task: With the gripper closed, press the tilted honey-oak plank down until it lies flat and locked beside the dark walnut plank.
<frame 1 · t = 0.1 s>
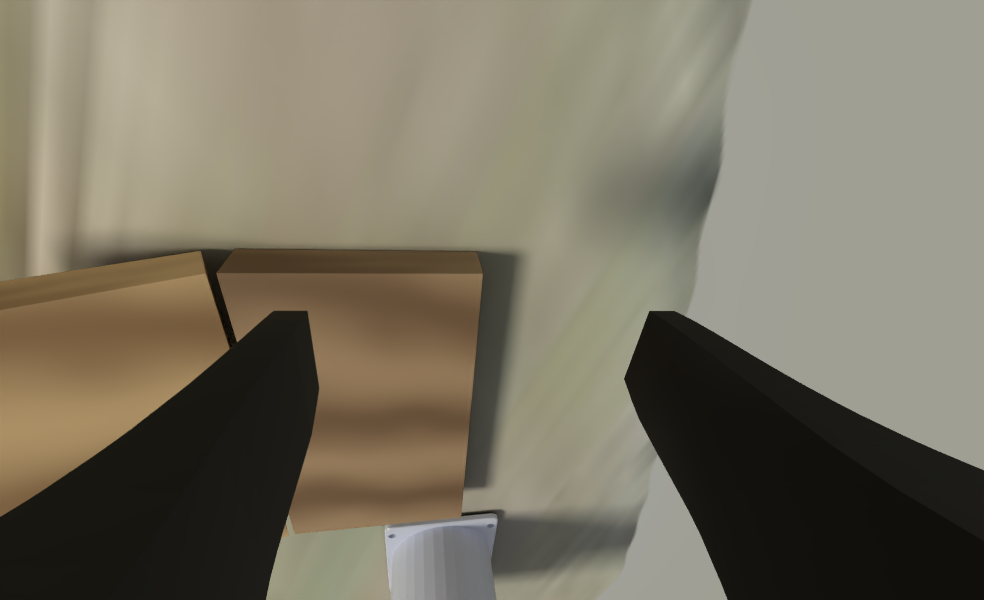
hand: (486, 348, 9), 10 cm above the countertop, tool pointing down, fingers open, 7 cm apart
oak plank: (126, 464, 19), point 3 cm above the countertop, hinge at 25.0°
walnut plank: (374, 398, 23), on the countertop
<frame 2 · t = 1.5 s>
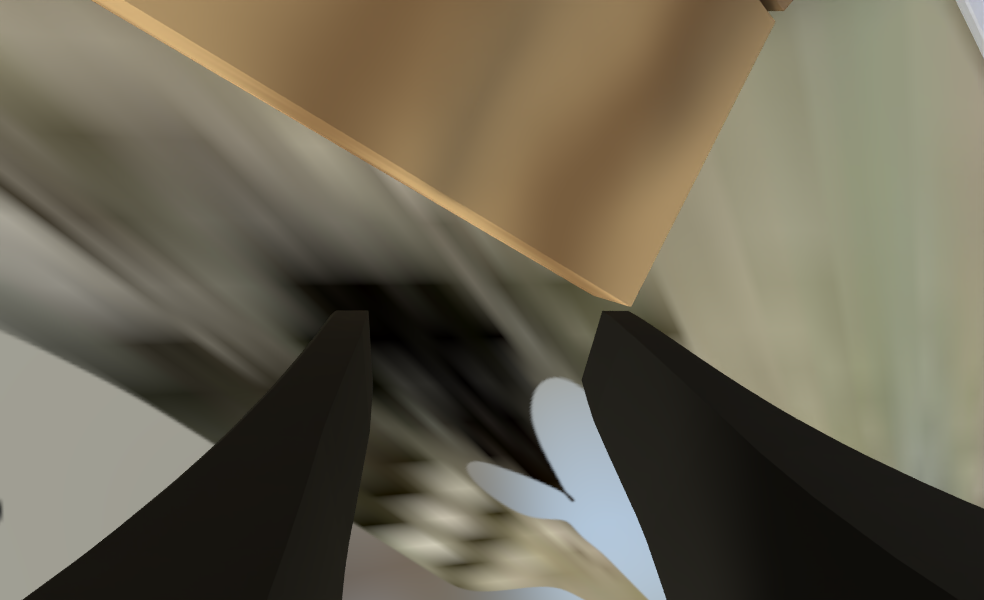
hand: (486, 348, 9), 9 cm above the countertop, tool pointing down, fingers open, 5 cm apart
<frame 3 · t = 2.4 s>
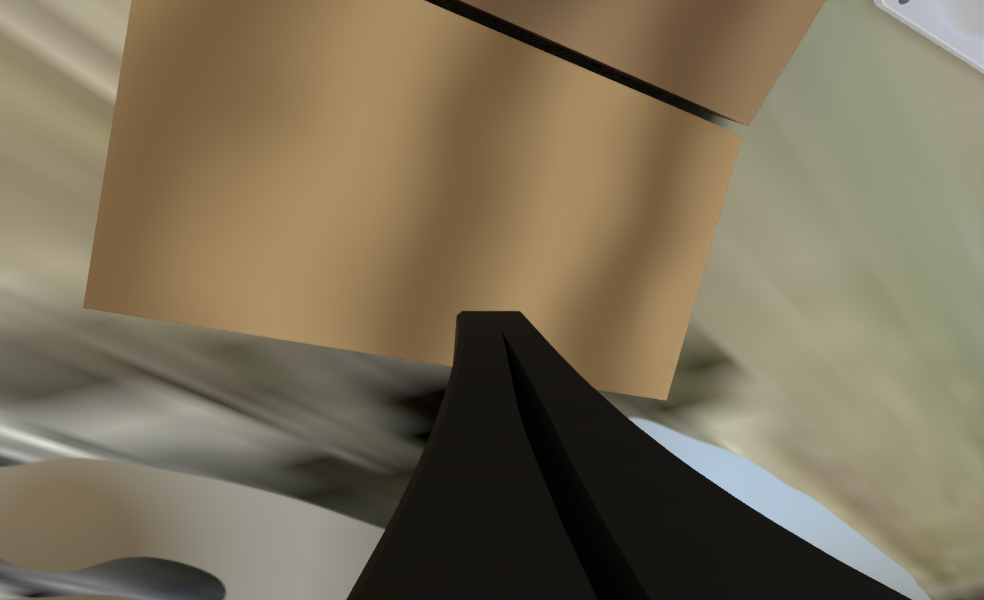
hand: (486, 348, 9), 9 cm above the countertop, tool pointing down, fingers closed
oak plank: (465, 208, 14), point 3 cm above the countertop, hinge at 25.0°
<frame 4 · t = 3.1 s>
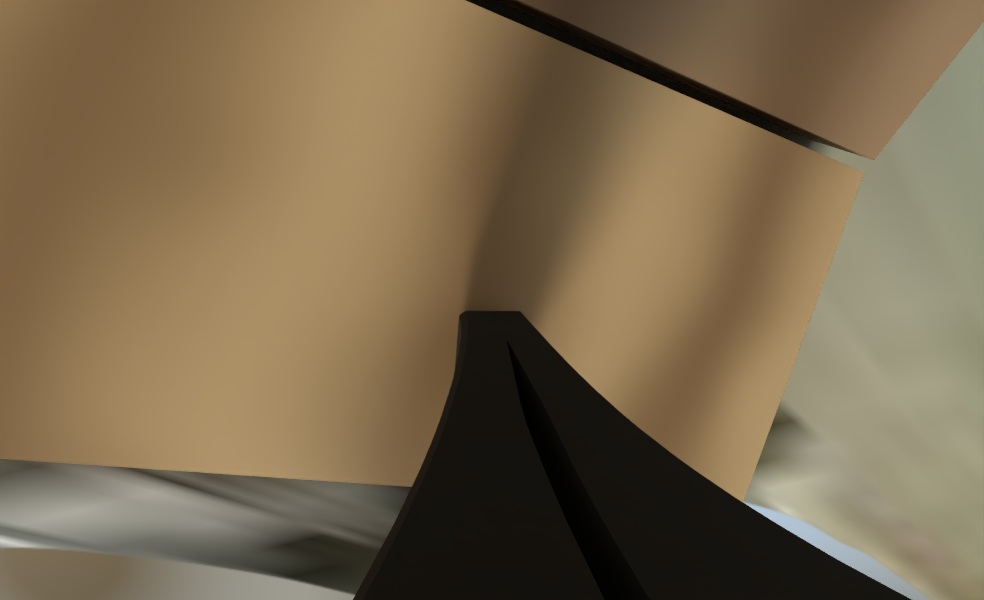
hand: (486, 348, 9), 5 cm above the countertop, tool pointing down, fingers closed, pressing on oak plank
oak plank: (490, 275, 10), point 3 cm above the countertop, hinge at 22.5°, touching gripper
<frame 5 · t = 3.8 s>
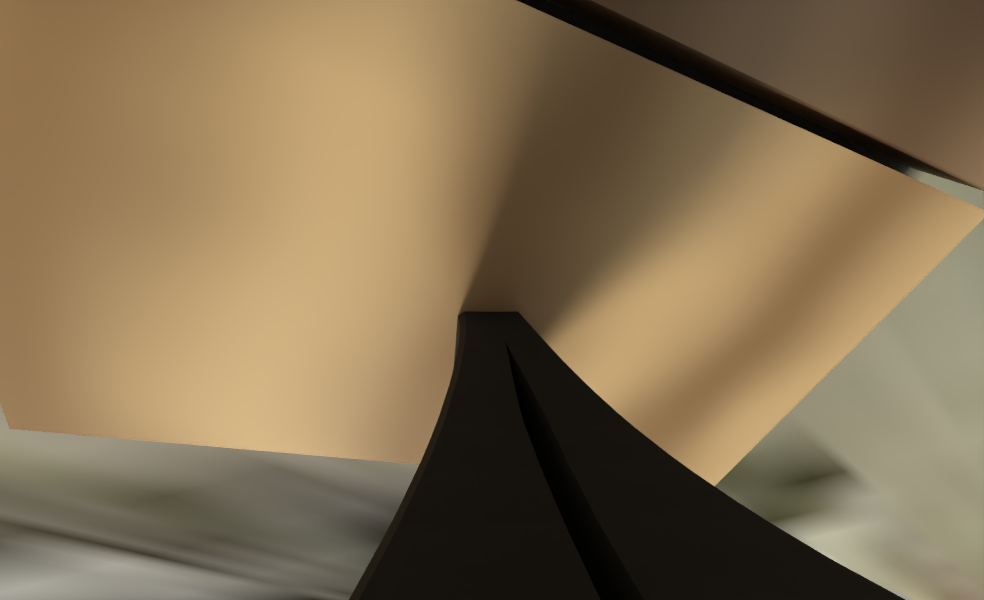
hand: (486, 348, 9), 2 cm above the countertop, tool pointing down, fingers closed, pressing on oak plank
oak plank: (503, 291, 10), point 1 cm above the countertop, hinge at -0.4°, touching gripper
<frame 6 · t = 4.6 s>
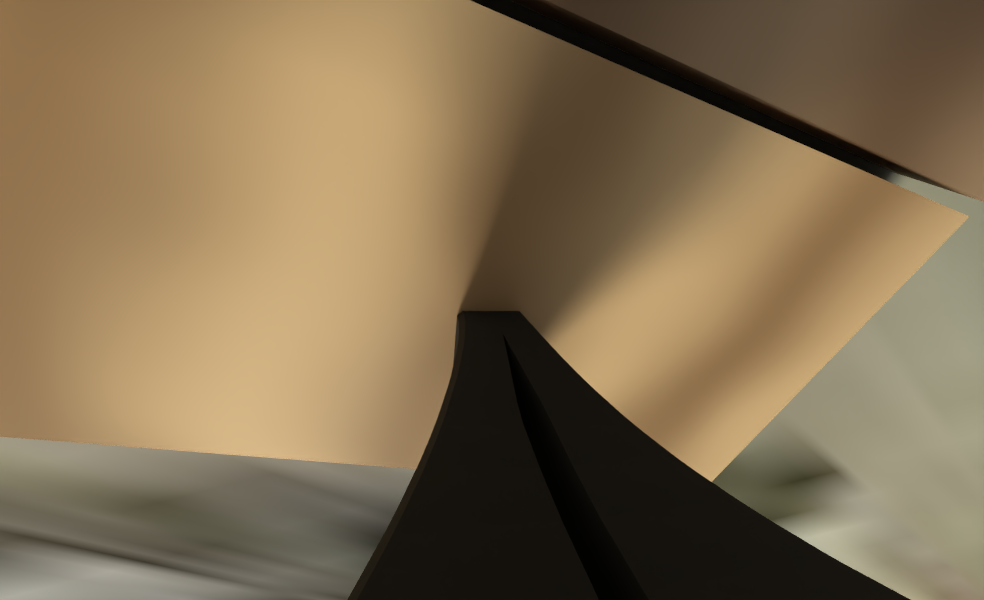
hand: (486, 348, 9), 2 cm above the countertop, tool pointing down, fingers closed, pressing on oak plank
oak plank: (492, 296, 10), point 1 cm above the countertop, hinge at -0.4°, touching gripper
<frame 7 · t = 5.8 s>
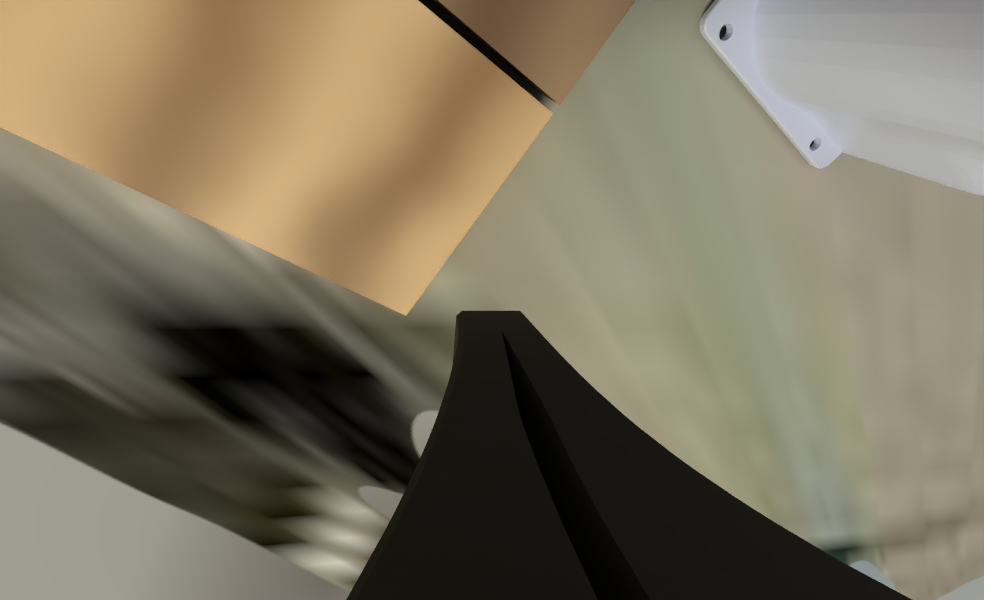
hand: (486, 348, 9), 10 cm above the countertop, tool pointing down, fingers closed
oak plank: (238, 72, 14), point 1 cm above the countertop, hinge at -0.3°
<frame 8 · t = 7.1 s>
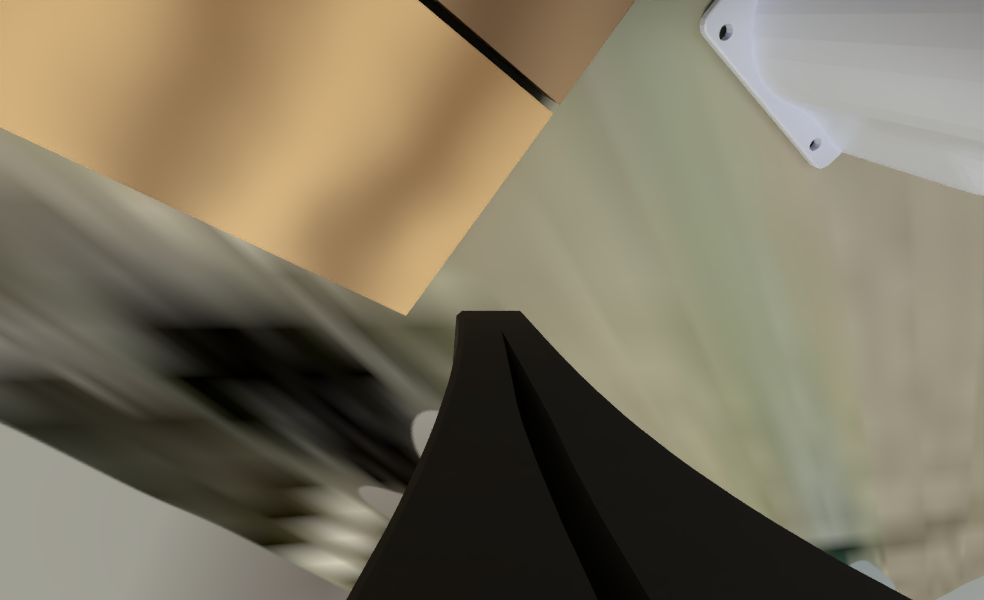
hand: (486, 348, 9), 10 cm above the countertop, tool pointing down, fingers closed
oak plank: (238, 72, 14), point 1 cm above the countertop, hinge at -0.3°
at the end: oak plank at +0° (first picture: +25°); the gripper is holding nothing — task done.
